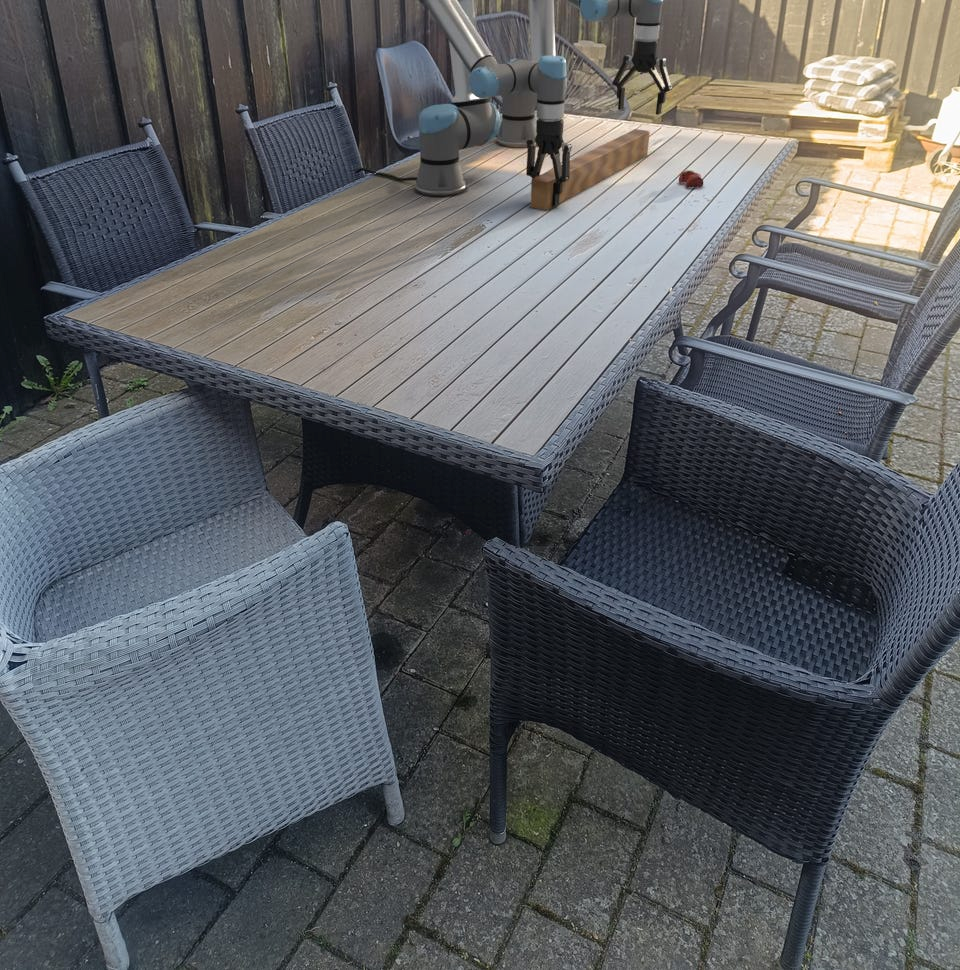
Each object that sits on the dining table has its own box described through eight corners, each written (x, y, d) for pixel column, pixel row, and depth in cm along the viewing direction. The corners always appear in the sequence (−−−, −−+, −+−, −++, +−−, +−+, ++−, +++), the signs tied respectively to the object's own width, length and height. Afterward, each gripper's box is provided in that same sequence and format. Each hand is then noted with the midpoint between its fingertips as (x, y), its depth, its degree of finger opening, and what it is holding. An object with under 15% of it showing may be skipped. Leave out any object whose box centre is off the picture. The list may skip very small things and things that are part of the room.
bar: (546, 210, 242) (548, 182, 238) (530, 207, 245) (531, 179, 240) (647, 155, 291) (649, 131, 286) (632, 153, 293) (635, 129, 289)
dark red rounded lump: (694, 166, 263) (706, 173, 257) (693, 180, 266) (704, 187, 260) (677, 168, 262) (689, 175, 256) (676, 182, 265) (687, 189, 259)
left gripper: (586, 120, 231) (580, 205, 245) (528, 112, 239) (525, 194, 253) (573, 125, 226) (568, 212, 240) (514, 117, 234) (512, 201, 248)
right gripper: (688, 41, 265) (678, 113, 277) (615, 35, 276) (610, 105, 288) (678, 44, 260) (670, 118, 272) (605, 38, 271) (600, 109, 283)
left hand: (546, 203), depth 246 cm, fingers closed on bar, 5 cm apart
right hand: (639, 111), depth 280 cm, fingers open, 13 cm apart
